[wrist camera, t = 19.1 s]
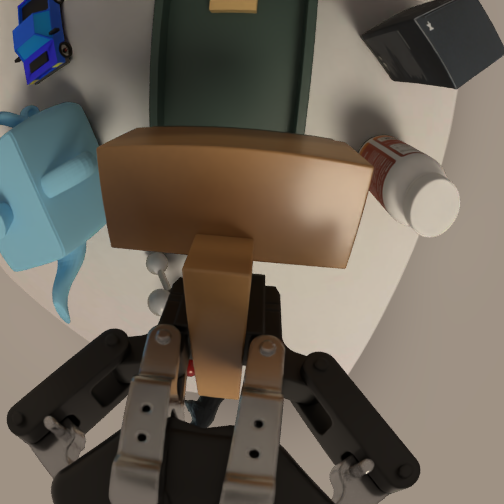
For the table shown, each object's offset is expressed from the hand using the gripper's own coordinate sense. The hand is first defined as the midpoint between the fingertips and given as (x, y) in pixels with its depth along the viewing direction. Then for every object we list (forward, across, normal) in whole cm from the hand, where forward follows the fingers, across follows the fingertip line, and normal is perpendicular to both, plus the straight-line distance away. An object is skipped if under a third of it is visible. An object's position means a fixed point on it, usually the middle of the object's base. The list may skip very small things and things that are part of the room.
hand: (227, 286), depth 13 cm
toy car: (+17, +23, -18) cm, 34 cm away
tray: (+17, +2, -10) cm, 20 cm away
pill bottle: (+17, -14, -3) cm, 22 cm away
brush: (+3, 0, -1) cm, 3 cm away
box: (+17, -14, -17) cm, 27 cm away
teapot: (+17, +20, +1) cm, 26 cm away
